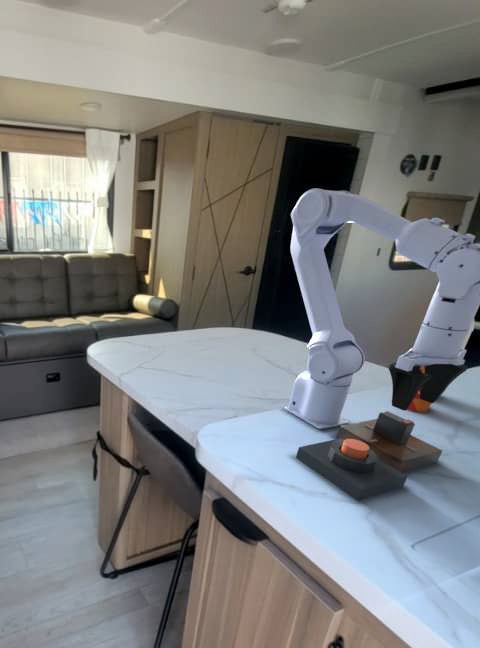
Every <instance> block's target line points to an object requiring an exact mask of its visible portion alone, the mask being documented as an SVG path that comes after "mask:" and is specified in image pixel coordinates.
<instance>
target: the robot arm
mask: <svg viewBox="0 0 480 648" xmlns="http://www.w3.org/2000/svg"><path fill="white" fill-rule="evenodd" d="M290 218H291V223H292V233H291V240H290V248H289V249H290V254H291V258H292V262H293V266H294V271H295V273H296V277H297V281H298V284H299V288H300V292H301V296H302V299H303V303H304V307H305V311H306V315H307V319H308V322H309V326H310V330H311V333H312V336H311V338H310V340H309V342H308V344H307V346H306V350H307V355H308V357H307V358H308V359H307V360H306V361H307V362H306V368H307V370H305V371H303V372H301V373H300V374H299V375H298V376H297V378H296V379H295V381H294V384H293V387H292V391H291V393H290V399H289V403H288V406H285V407H284V410H286V411H287V412H289V413H291V414H292V415H294V416H296V417H297V418H299V419H300V420H301V421H304V422H306V423H308V424H309V425H310V426H313V427H314V428H316V429H318V430H325V429H330V428H334V427H340V426H344V425H349V424H350V422H349V421H348V420H347V419H344V418H343V417H342V416H341V415H342V412H343V409H344V406H345V403H346V400H347V397H348V394H349V391H350V389H351V385H352V383H353V377H354V376H353V375H354V374H356V373H358V372H359V371H360V370H361V369H362V368H363V367H364V365H365V361H366V357H365V356H366V355H365V353H364V351H363V349H362V348H361V347H360V346H359V345H358V343H357V342H356V339H355V336H354V334H353V333H352V332H351V331H349V330H348V329H347V328H346V327H345V324H344V320H343V317H342V314H341V310H340V305H339V302H338V299H337V295H336V291H335V288H334V284H333V280H332V277H331V272H330V268H329V265H328V262H327V258H326V254H325V248H326V246H327V244H328V243H329V242H330V240H331V238H333V237H334V236H335V234H337V233H338V232H339V231H340V230H341V229H342V228H343V227H344V226H345V225H346V224H347V223H349V224H350V223H352V224H353V223H355V224H357V225H359V226H361V227H364V228H366V229H368V230H370V231H373V232H374V233H377V234H379V235H380V236H383V237H385V238H387V239H390V240H391V241H394V243H395V249H396V252H397V254H399V255H401V256H403V257H405V258H407V259H408V260H410V261H412V262H414V263H416V264H417V265H420V266H421V267H423V268H424V269H427V270H428V271H430V272H433V273H436V276H437V279H438V283H437V286H436V288H435V291H434V293H433V295H432V297H431V300H430V303H429V305H428V308H427V310H426V313H425V315H424V319H423V320H422V323H421V326H420V329H419V332H418V334H417V337H416V339H415V342H414V344H413V347H412V348H410V349H409V350H408V351H406V352H405V353H404V354H402V355H399V356H398V359H397V360H396V362H391V363H390V364H389V367H388V370H389V373H390V377H391V382H392V394H391V406H392V407H394V408H397V409H399V410H401V411H407V410H409V409H408V407H409V406H410V405H411V403H412V401H413V400H414V398H415V396H416V394H417V393H418V391H419V390H420V388H421V387H422V388H421V391H420V399H422V400H424V401H427V402H430V403H431V404H435V403H436V402H437V401H438V399H439V398H440V397H441V396H442V395H443V394H444V393H445V392H444V390H445V389H446V388H447V389H448V387H449V386H450V385H451V384H452V383H453V382H454V381H455V380H456V379H457V378H458V377H459V376H461V375H462V374H463V373H465V372H466V371H467V370H468V368H469V366H468V365H466V364H465V362H466V359H464V358H465V355H466V353H467V349H465V348H464V349H461V346H462V344H463V342H464V339H465V337H466V335H467V333H468V330H469V328H470V326H471V323H472V321H473V319H474V320H475V316H476V314H477V312H478V309H479V308H480V242H475V243H474V240H475V239H476V235H474V234H472V233H466V234H462V233H459V232H457V231H455V230H453V229H451V228H449V227H447V226H444V224H445V222H446V221H445V220H444V219H441V218H439V217H433V218H432V219H429V218H425V217H424V218H421V219H418V220H415V221H410V220H409V219H406V218H405V217H403V216H401V215H399V214H397V213H396V212H394V211H392V210H391V209H389V208H386V207H384V206H382V205H381V204H378V203H377V202H376V201H373V200H371V199H370V198H367V197H364V196H362V195H360V194H355V193H352V192H350V191H348V190H328V189H323V188H316V187H315V188H311V189H309V190H307V191H305V192H304V193H303V194H302V195H301V196H300V197H299V199H298V200H297V201H296V204H295V206H294V207H293V209H292V211H291V213H290ZM422 366H425V373H423V372H422V370H420V368H421V367H422ZM447 389H446V390H447ZM443 392H444V393H443ZM442 393H443V394H442Z"/></svg>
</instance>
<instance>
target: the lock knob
mask: <svg viewBox="0 0 480 648" xmlns="http://www.w3.org/2000/svg"><path fill="white" fill-rule="evenodd" d="M376 419H377V421H376V424H375V427H374V429H373V432H374V433H376V434H378V435H380V436H382V437H384V438H386V439H388V440H390V441H392V442H393V443H395V444H397V445H403V444H406V443H407V441H408V439H409V437H410V435H411V434H412V432H413V429H414V427H415V426H416V425H415V424H416V423H415V422H414V421H413V420H410V419H406V418H404V417H401V416H399V415H398V414H394V413H393V412H391V411H388V410H385V411H381V412H379V413H378V415H377V418H376Z"/></svg>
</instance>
